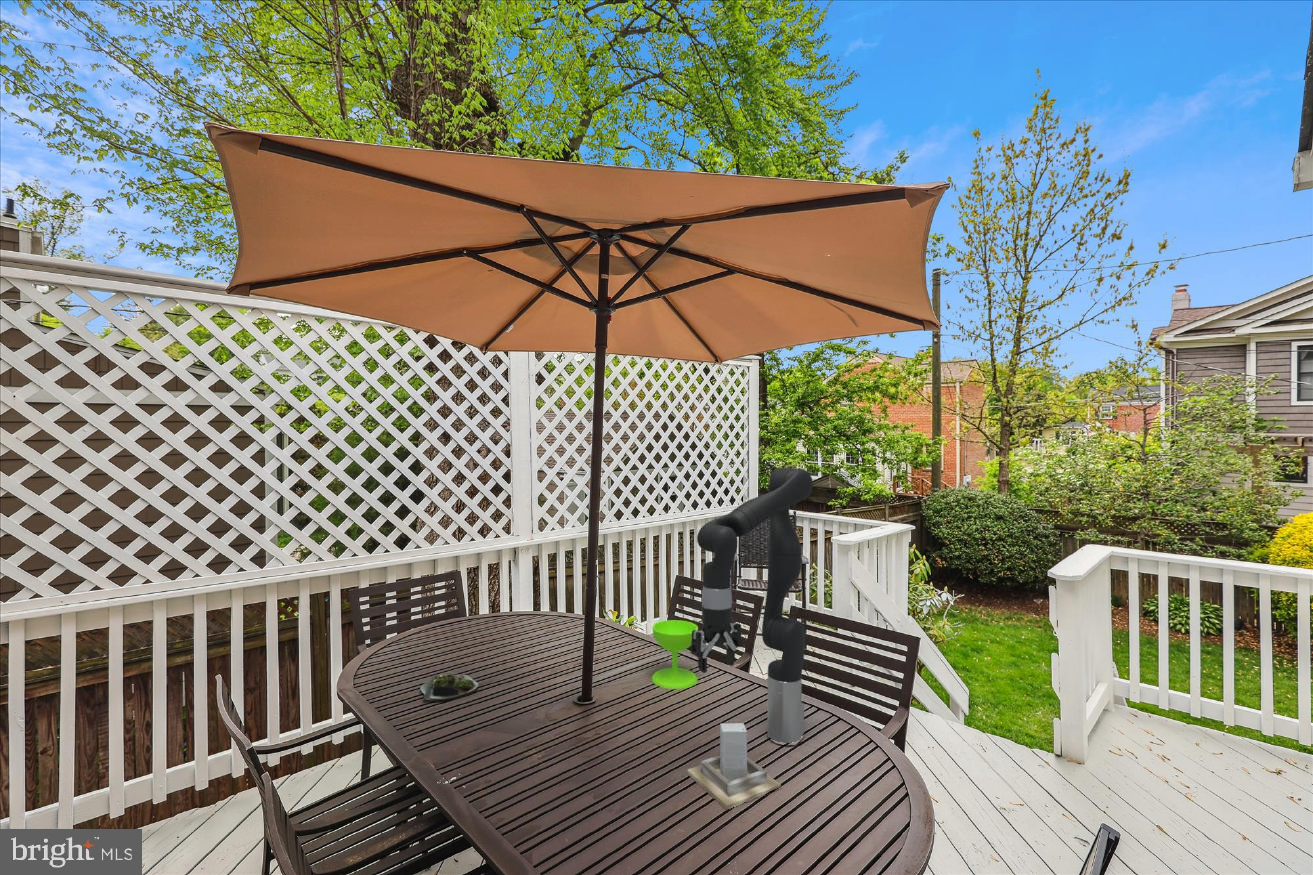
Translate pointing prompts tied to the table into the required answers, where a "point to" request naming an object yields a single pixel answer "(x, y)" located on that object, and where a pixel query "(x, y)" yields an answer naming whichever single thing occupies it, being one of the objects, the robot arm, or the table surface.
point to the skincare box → (733, 750)
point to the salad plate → (448, 688)
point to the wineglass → (674, 653)
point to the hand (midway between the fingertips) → (716, 668)
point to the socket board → (732, 782)
